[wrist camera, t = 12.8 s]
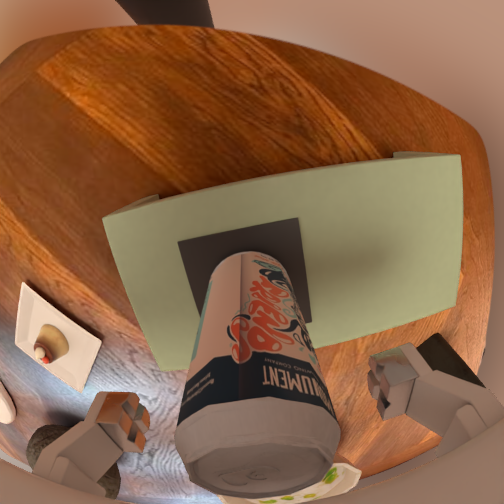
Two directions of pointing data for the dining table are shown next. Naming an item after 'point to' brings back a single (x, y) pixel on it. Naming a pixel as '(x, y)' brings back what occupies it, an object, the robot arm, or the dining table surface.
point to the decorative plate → (6, 406)
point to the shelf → (300, 247)
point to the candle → (446, 359)
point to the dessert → (54, 339)
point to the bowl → (313, 486)
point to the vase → (53, 432)
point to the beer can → (254, 388)
